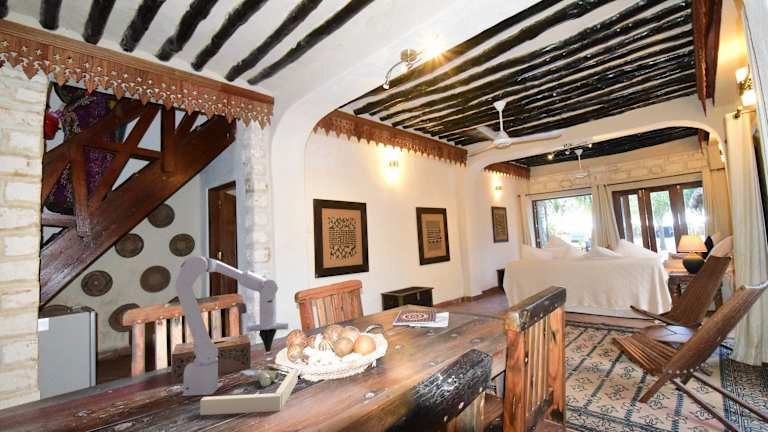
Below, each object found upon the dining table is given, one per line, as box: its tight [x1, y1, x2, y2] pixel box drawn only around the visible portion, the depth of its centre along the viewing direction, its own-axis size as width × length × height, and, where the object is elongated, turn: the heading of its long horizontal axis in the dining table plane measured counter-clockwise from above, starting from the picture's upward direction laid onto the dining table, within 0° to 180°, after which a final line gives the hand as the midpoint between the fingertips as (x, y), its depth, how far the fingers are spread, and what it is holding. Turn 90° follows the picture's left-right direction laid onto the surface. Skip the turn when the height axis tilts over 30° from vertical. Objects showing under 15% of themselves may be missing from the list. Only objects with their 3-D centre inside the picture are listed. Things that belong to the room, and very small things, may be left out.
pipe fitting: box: [252, 369, 281, 388], centre depth 116 cm, size 8×4×7 cm
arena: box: [199, 368, 299, 416], centre depth 106 cm, size 22×21×4 cm
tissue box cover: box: [171, 333, 252, 384], centre depth 132 cm, size 26×14×10 cm, turn 116°
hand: (268, 350), depth 123 cm, fingers closed
